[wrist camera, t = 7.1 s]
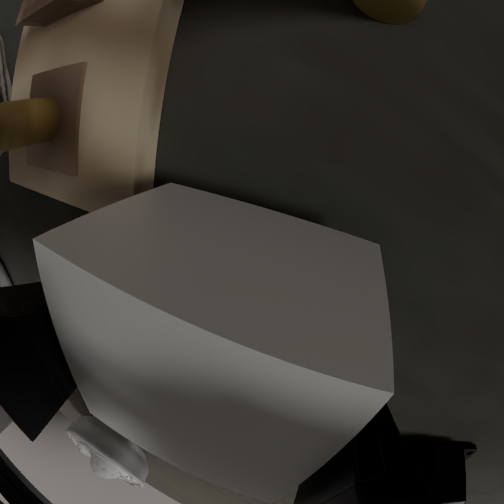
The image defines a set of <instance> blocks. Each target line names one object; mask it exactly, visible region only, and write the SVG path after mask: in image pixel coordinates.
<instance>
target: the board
mask: <svg viewBox="0 0 504 504" xmlns="http://www.w3.org/2000/svg"><path fill="white" fill-rule="evenodd" d="M183 3H184V0H23V2H22V5H21V8H20V11H19V14H18V17H17V21H16V24H15V26H24V29H23V33H22V37H21V41H20V46H19V50H18V55H17V60H16V66H15V72H14V79H13V86H12V95H11V101H8V102H2V103H0V153H3V152H6V151H9V173H10V181H11V182H13V183H16V184H18V185H21V186H24V187H26V188H29V189H31V190H34V191H36V192H39V193H41V194H44V195H47V196H49V197H52V198H54V199H57V200H59V201H62V202H65V203H67V204H70V205H73V206H75V207H78V208H80V209H83V210H86V211H88V212H93V211H96V210H98V209H101V208H103V207H106V206H108V205H111V204H113V203H116V202H118V201H121V200H124V199H126V198H129V197H132V196H134V195H137V194H140V193H143V192H145V191H148V190H151V189H153V185H154V172H155V161H156V151H157V142H158V133H159V125H160V117H161V110H162V103H163V97H164V91H165V85H166V79H167V74H168V68H169V63H170V58H171V53H172V48H173V44H174V39H175V35H176V31H177V26H178V22H179V18H180V14H181V11H182V7H183Z"/></svg>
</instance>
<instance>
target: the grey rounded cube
mask: <svg viewBox="0 0 504 504" xmlns="http://www.w3.org/2000/svg"><path fill="white" fill-rule="evenodd" d="M33 244H34V249H35V255H36V260H37V265H38V269H39V274H40V278H41V283H42V287H43V291H44V294H45V298H46V302H47V305H48V309H49V312H50V316H51V319H52V322H53V325H54V328H55V331H56V334H57V337H58V340H59V343H60V345H61V348H62V351H63V353H64V356H65V359H66V361H67V364H68V366H69V368H70V371H71V373H72V376H73V378H74V380H75V382H76V385H77V387H78V389H79V391H80V393H81V395H82V398H83V400H84V402H85V404H86V406H87V408H88V410H89V412H90V413H91V414H92V415H94V416H95V417H96V418H98V419H99V420H100V421H102V422H103V423H105V424H106V425H107V426H109V427H110V428H112V429H113V430H115V431H116V432H118V433H119V434H121V435H122V436H124V437H125V438H127V439H128V440H130V441H131V442H133V443H135V444H136V445H138V446H139V447H141V448H143V449H145V450H146V451H148V452H150V453H151V454H153V455H155V456H157V457H159V458H160V459H162V460H164V461H166V462H168V463H170V464H172V465H174V466H176V467H178V468H180V469H182V470H184V471H186V472H188V473H190V474H192V475H194V476H196V477H199V478H201V479H203V480H205V481H208V482H210V483H212V484H215V485H217V486H220V487H222V488H225V489H227V490H230V491H233V492H236V493H238V494H241V495H244V496H247V497H250V498H253V499H256V500H259V501H263V502H266V503H269V504H273V503H274V502H276V501H277V500H279V499H280V498H282V497H283V496H284V495H286V494H287V493H289V492H290V491H291V490H293V489H294V488H295V487H297V486H298V485H299V484H301V483H302V482H303V481H304V480H306V479H307V478H308V477H310V476H311V475H312V474H313V473H315V472H316V471H317V470H318V469H319V468H321V467H322V466H323V465H324V464H325V463H326V462H328V461H329V460H330V459H331V458H332V457H333V456H334V455H335V454H337V453H338V452H339V451H340V450H341V449H342V448H343V447H344V446H345V445H346V444H347V443H348V442H349V441H350V440H351V439H352V438H354V437H355V436H356V435H357V434H358V433H359V432H360V431H361V429H362V428H363V427H364V426H365V425H366V424H367V423H368V422H369V421H370V420H371V419H372V418H373V417H374V416H375V415H376V414H377V413H378V411H379V410H380V409H381V408H382V407H383V406H384V405H385V404H386V402H387V401H388V400H389V399H390V398H391V397H392V395H393V394H394V370H393V350H392V336H391V325H390V315H389V305H388V297H387V289H386V282H385V275H384V269H383V263H382V257H381V251H380V245H379V244H376V243H373V242H370V241H367V240H364V239H361V238H359V237H356V236H353V235H350V234H347V233H344V232H341V231H337V230H334V229H331V228H328V227H325V226H322V225H319V224H316V223H313V222H309V221H306V220H303V219H300V218H296V217H293V216H290V215H287V214H283V213H280V212H277V211H273V210H270V209H266V208H263V207H260V206H256V205H253V204H249V203H246V202H242V201H239V200H235V199H231V198H228V197H224V196H220V195H217V194H213V193H209V192H206V191H202V190H198V189H194V188H190V187H186V186H182V185H178V184H175V183H169V184H166V185H163V186H160V187H157V188H154V189H151V190H148V191H145V192H143V193H140V194H137V195H134V196H132V197H129V198H126V199H124V200H121V201H118V202H116V203H113V204H111V205H108V206H106V207H103V208H101V209H98V210H96V211H93V212H91V213H88V214H86V215H84V216H81V217H79V218H77V219H74V220H72V221H70V222H67V223H65V224H63V225H61V226H59V227H56V228H54V229H52V230H50V231H48V232H46V233H43V234H41V235H39V236H37V237H35V238H33Z"/></svg>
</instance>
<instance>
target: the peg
mask: <svg viewBox="0 0 504 504" xmlns="http://www.w3.org/2000/svg"><path fill="white" fill-rule="evenodd" d="M352 1H353V2H354V4H355V5H356V6H357V7H358V8H359V9H360V10H361V11H362V12H363V13H365V14H366V15H368V16H369V17H371V18H373V19H375V20H378V21H380V22H383V23H388V24H397V25H398V24H406V23H410V22H412V21H414V20H415V19H417V17H418V16H419V15H420V13H421V12H422V10H423V8H424V6H425V4H426V2H427V0H352Z"/></svg>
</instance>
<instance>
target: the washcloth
mask: <svg viewBox="0 0 504 504" xmlns="http://www.w3.org/2000/svg"><path fill="white" fill-rule="evenodd" d="M11 95H12V89H11V83H10V78H9V73H8V70H7V66H6V60H5V52H4V45H3V39H2V37H1V35H0V103H2V102H8V101H11ZM1 154H2V153H0V156H1Z"/></svg>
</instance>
